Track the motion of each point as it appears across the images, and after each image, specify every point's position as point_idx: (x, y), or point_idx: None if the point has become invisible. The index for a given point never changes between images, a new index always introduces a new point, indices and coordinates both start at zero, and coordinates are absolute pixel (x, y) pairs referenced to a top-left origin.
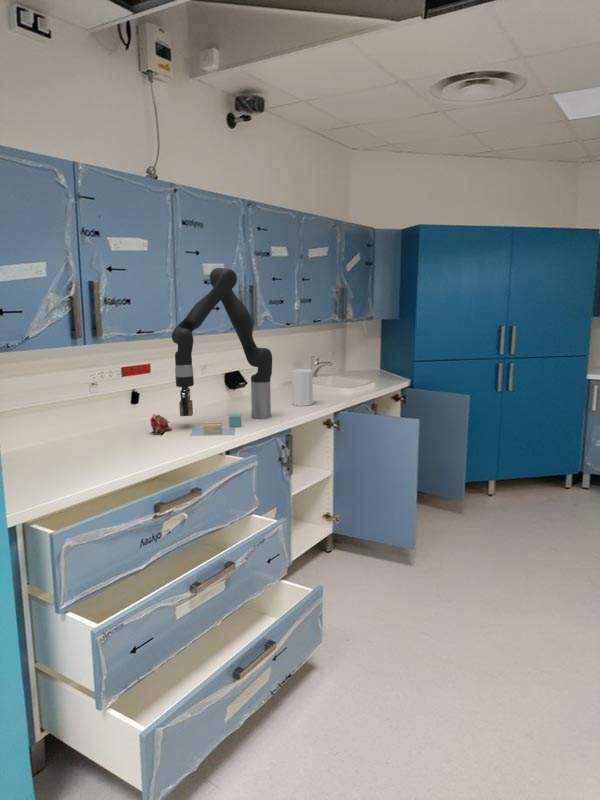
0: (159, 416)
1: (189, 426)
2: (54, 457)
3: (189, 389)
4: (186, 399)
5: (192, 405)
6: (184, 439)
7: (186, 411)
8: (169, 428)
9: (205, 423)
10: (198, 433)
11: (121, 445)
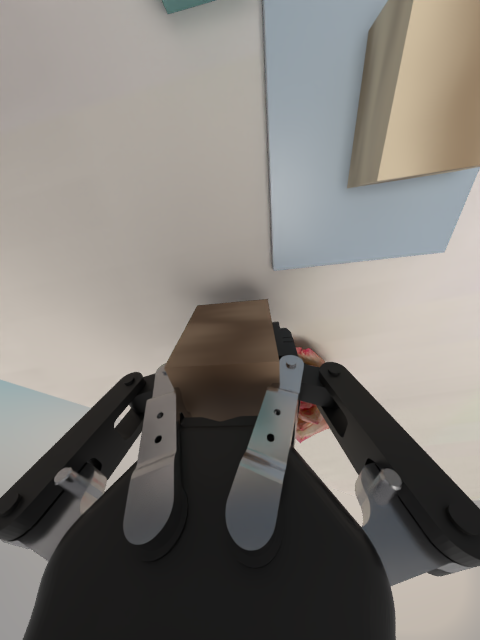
0: (317, 420)
1: (181, 299)
2: (472, 475)
3: (15, 510)
4: (400, 427)
5: (182, 335)
6: (433, 271)
7: (292, 341)
8: (311, 353)
9: (439, 159)
10: (405, 215)
11: (425, 416)
